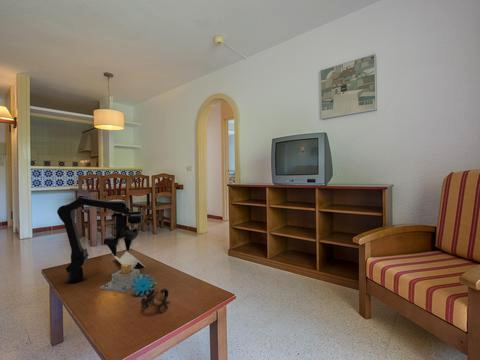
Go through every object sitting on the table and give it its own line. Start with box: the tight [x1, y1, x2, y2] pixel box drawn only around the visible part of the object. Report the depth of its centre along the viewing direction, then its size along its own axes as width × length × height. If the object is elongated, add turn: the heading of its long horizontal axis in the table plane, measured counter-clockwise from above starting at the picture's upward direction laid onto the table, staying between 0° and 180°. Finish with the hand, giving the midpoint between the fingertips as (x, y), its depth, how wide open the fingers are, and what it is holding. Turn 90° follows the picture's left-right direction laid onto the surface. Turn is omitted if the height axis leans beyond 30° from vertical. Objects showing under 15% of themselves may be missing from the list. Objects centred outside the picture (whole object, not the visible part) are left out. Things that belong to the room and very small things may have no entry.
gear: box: [131, 273, 158, 297], centre depth 112 cm, size 11×6×10 cm
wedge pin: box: [120, 264, 131, 274], centre depth 121 cm, size 3×3×8 cm
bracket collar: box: [99, 268, 148, 294], centre depth 122 cm, size 14×18×6 cm
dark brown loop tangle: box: [140, 288, 170, 314], centre depth 99 cm, size 12×10×8 cm
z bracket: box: [112, 250, 146, 269], centre depth 148 cm, size 12×25×6 cm
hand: (121, 253), depth 131 cm, fingers open, 9 cm apart
